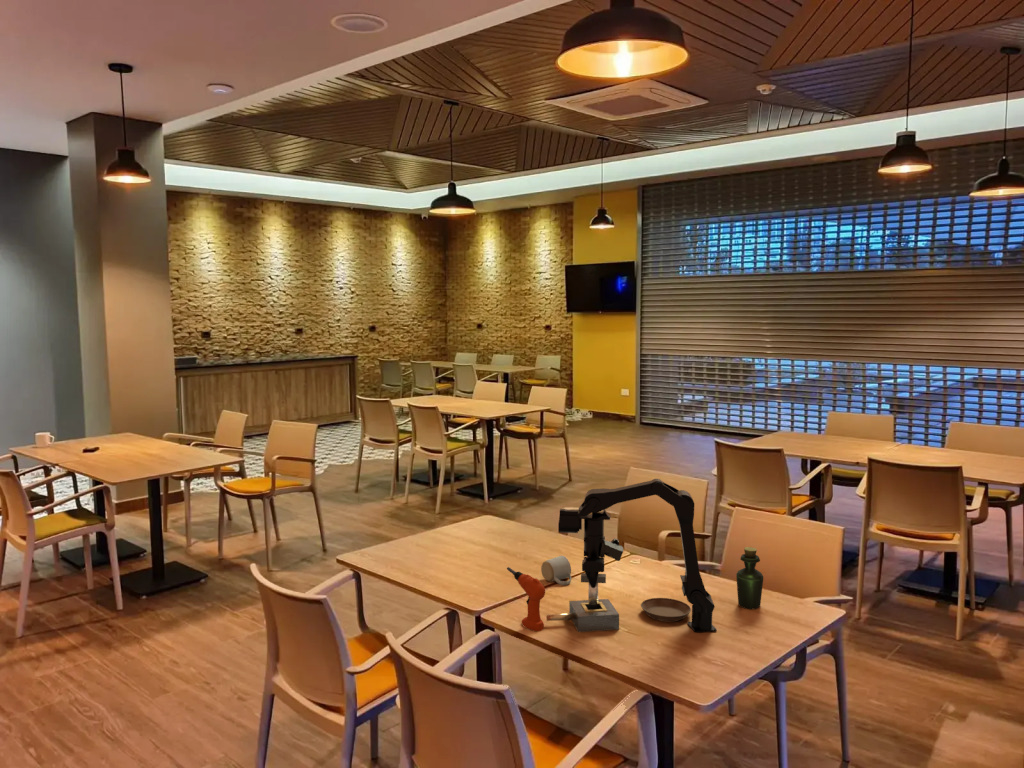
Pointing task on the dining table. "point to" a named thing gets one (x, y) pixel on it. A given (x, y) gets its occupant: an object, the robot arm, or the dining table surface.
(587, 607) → the block
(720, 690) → the dining table surface
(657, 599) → the saucer
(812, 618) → the dining table surface
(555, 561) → the ceramic mug
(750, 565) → the potion bottle
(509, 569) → the toy drill
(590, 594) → the block
